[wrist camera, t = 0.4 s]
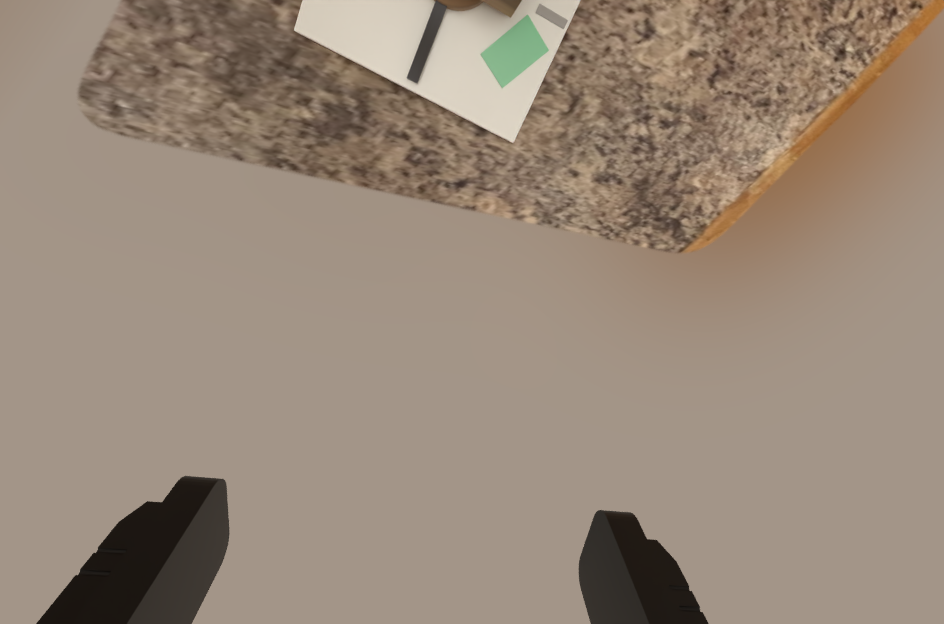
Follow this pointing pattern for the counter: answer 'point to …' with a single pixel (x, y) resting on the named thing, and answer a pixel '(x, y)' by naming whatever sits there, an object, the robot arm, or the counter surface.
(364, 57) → the dial plate
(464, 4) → the wing knob
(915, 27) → the counter surface
